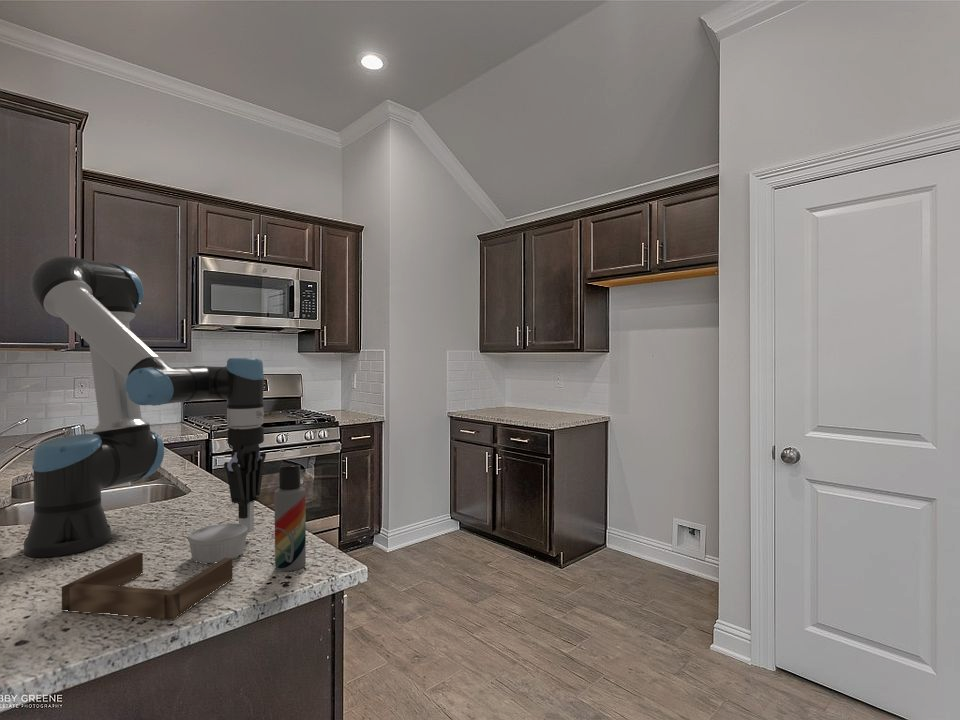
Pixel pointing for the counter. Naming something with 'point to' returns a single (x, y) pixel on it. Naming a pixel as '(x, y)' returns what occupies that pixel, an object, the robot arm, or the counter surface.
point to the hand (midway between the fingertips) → (246, 531)
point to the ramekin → (217, 542)
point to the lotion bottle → (290, 520)
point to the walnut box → (140, 590)
